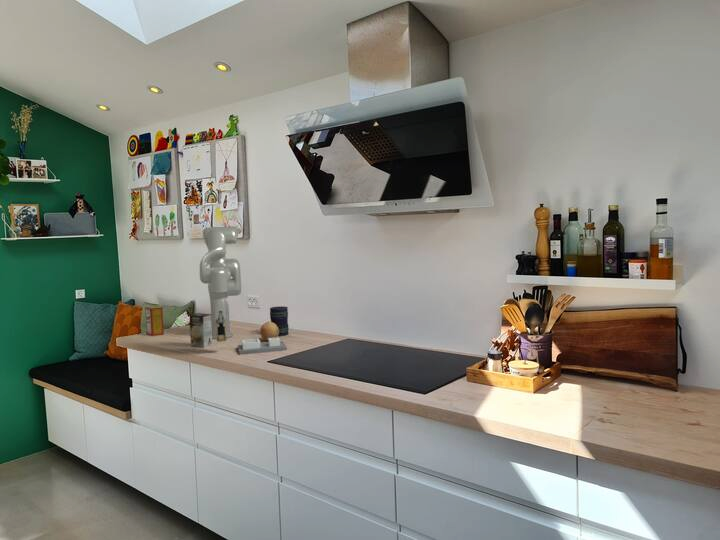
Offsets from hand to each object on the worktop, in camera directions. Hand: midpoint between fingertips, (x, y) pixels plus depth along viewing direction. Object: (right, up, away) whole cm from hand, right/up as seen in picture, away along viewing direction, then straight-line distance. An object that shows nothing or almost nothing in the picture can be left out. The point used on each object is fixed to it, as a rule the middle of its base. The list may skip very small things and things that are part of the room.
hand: (221, 333), depth 239 cm
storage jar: (+21, -6, +40) cm, 45 cm away
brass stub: (0, -3, 0) cm, 3 cm away
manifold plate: (+18, -8, +5) cm, 21 cm away
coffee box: (-14, -9, +16) cm, 23 cm away
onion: (+19, -7, +24) cm, 31 cm away
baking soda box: (-52, -7, +51) cm, 73 cm away
